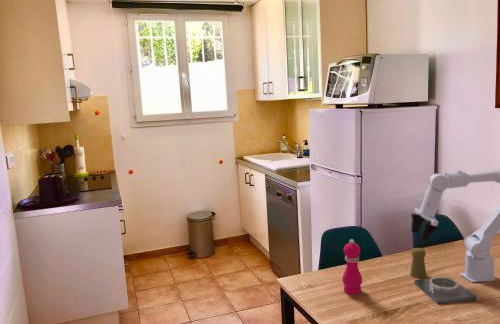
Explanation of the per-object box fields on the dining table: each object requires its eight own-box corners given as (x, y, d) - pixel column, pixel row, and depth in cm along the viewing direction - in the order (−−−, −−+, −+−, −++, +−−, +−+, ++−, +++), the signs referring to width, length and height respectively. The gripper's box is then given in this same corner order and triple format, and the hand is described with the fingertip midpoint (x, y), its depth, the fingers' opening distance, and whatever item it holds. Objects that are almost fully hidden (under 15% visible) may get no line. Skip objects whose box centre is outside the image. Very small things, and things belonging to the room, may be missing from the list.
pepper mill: (363, 287, 151) (362, 236, 148) (361, 296, 144) (361, 243, 142) (343, 285, 153) (342, 235, 151) (341, 294, 147) (340, 242, 144)
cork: (428, 278, 156) (428, 251, 155) (411, 278, 157) (411, 251, 156) (424, 272, 162) (424, 246, 161) (408, 271, 163) (409, 246, 162)
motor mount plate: (449, 280, 153) (449, 272, 153) (476, 300, 138) (476, 290, 137) (414, 283, 152) (414, 274, 152) (437, 303, 137) (437, 294, 136)
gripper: (412, 196, 161) (401, 226, 164) (430, 207, 147) (418, 241, 150) (428, 200, 162) (416, 230, 165) (447, 212, 148) (435, 245, 151)
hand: (418, 236), depth 157 cm, fingers open, 7 cm apart
